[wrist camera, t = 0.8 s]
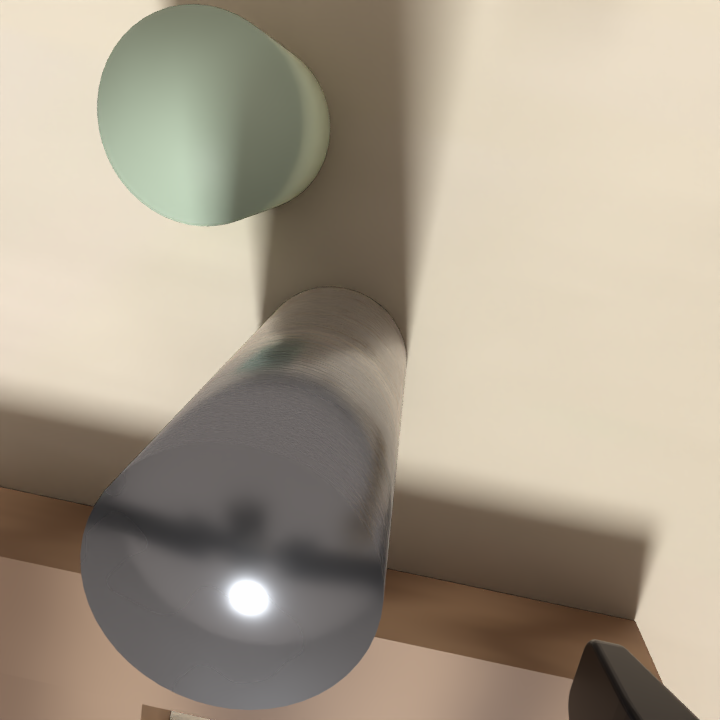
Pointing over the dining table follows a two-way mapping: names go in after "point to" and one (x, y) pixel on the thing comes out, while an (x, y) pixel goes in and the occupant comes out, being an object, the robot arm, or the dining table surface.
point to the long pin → (260, 514)
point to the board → (317, 714)
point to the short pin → (210, 116)
